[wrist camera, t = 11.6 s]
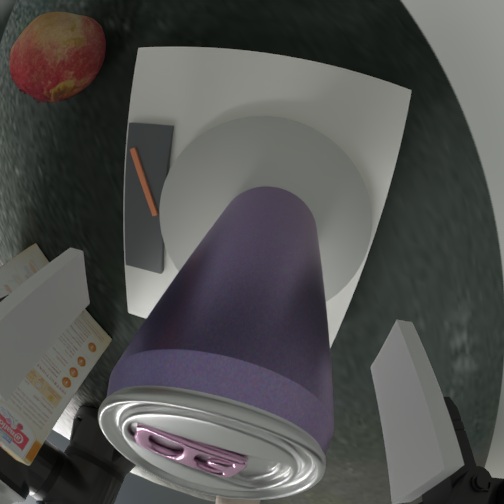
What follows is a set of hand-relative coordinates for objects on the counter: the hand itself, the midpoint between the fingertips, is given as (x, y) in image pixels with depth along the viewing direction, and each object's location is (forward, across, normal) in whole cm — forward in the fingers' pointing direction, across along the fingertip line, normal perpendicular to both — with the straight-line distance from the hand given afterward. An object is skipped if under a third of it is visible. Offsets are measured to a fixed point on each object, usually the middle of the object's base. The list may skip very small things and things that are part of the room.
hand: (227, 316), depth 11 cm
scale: (+13, -1, 0) cm, 13 cm away
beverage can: (+9, +1, 0) cm, 9 cm away
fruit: (+13, -17, +12) cm, 24 cm away
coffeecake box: (+13, -22, -16) cm, 30 cm away
